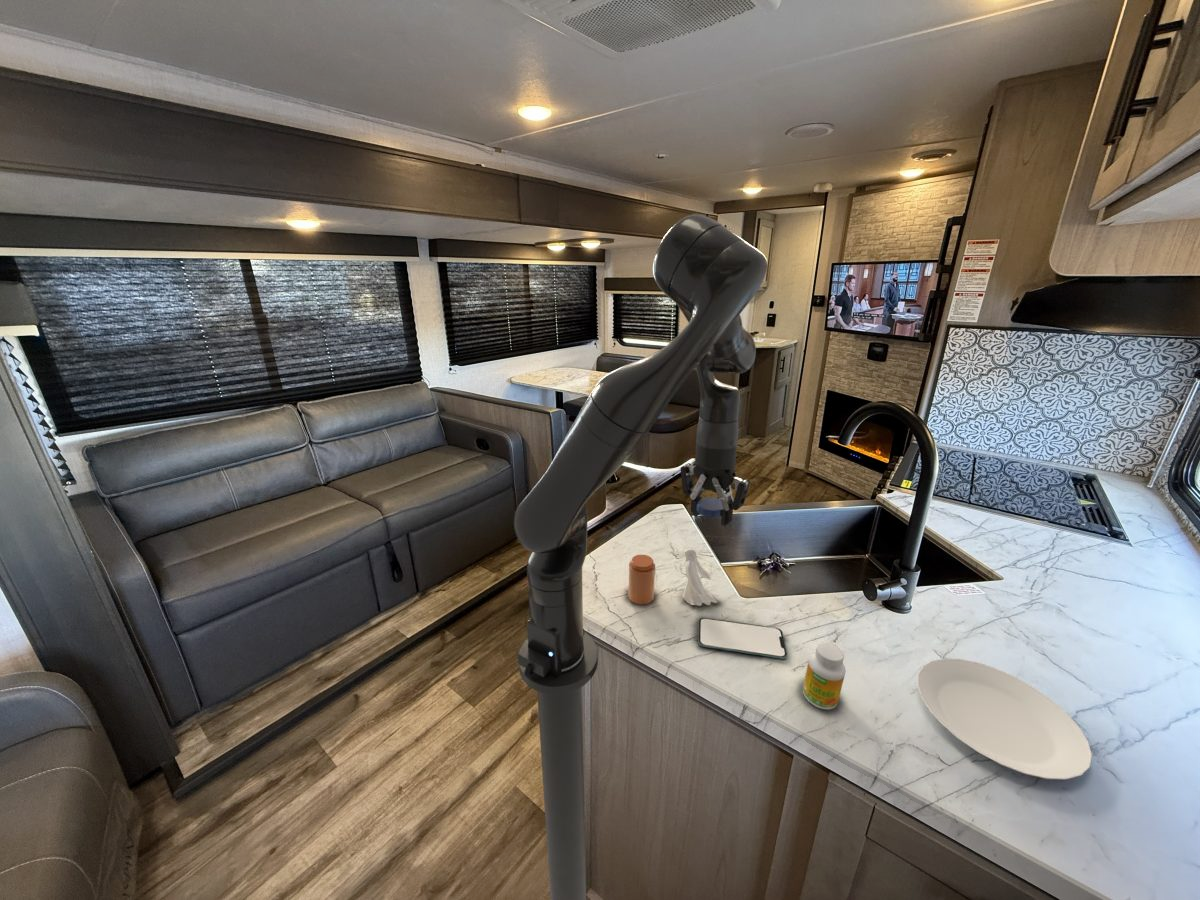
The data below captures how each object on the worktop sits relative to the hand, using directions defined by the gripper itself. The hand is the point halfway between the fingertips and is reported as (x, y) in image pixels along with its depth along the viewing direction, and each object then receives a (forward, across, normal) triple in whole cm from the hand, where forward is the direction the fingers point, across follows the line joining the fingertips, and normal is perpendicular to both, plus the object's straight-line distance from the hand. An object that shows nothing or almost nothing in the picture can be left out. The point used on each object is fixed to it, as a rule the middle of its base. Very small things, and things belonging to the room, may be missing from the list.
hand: (710, 519), depth 92 cm
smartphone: (+20, -11, +6) cm, 23 cm away
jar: (+20, +11, +8) cm, 24 cm away
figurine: (+20, +1, 0) cm, 20 cm away
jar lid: (-3, 0, 0) cm, 3 cm away
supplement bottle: (+20, -27, +9) cm, 35 cm away
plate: (+21, -49, -4) cm, 53 cm away
